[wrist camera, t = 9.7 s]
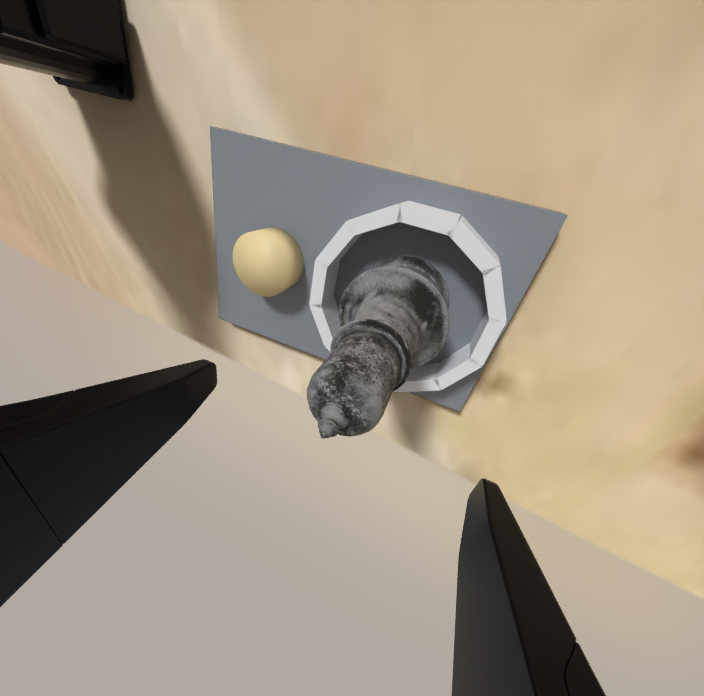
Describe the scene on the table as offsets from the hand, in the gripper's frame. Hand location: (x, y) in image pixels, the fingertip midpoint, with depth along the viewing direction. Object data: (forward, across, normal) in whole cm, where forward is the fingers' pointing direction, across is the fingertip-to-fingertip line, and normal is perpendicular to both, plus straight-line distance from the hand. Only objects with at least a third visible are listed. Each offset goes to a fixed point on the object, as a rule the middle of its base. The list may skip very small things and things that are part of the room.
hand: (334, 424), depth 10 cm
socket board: (+12, +4, 0) cm, 13 cm away
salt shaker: (+12, 0, 0) cm, 12 cm away
